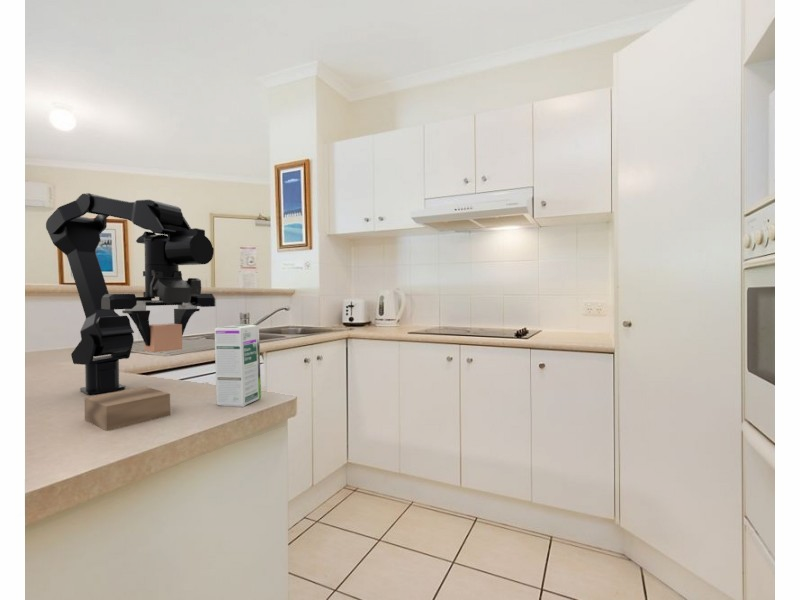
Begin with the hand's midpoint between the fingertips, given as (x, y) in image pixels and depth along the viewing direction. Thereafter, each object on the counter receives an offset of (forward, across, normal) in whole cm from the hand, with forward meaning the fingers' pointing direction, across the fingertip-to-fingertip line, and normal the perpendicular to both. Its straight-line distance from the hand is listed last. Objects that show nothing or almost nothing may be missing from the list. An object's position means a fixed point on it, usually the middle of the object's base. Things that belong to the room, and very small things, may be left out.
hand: (163, 344), depth 77 cm
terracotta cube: (+1, 0, 0) cm, 1 cm away
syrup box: (+11, +7, -16) cm, 20 cm away
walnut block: (+11, -9, -10) cm, 17 cm away
